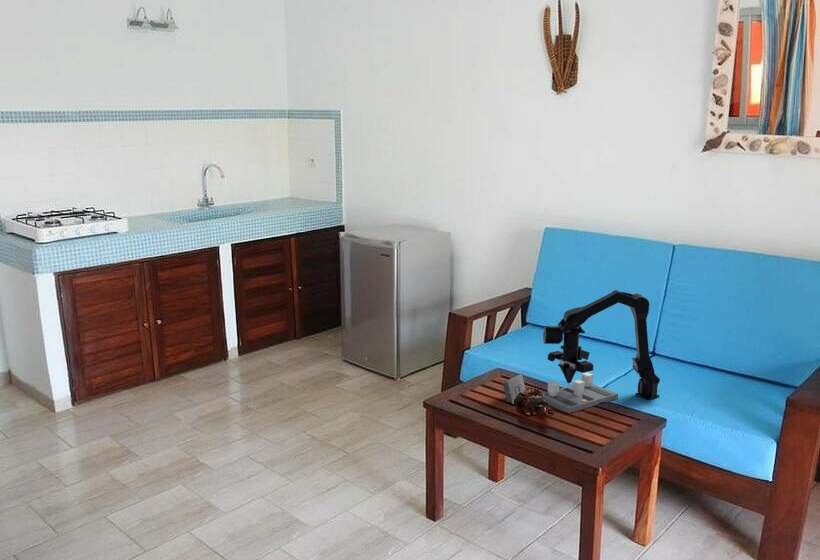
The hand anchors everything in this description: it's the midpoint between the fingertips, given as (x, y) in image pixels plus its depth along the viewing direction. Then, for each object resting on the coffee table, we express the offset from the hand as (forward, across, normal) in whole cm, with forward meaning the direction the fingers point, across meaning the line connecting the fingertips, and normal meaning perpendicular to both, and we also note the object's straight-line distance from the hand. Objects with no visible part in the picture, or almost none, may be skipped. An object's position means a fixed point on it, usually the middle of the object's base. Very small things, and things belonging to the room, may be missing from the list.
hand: (569, 382), depth 272 cm
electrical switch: (+5, +7, +21) cm, 23 cm away
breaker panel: (+5, -5, 0) cm, 7 cm away
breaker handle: (+5, -5, 0) cm, 7 cm away
